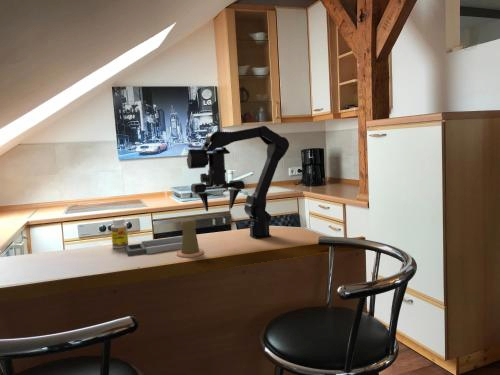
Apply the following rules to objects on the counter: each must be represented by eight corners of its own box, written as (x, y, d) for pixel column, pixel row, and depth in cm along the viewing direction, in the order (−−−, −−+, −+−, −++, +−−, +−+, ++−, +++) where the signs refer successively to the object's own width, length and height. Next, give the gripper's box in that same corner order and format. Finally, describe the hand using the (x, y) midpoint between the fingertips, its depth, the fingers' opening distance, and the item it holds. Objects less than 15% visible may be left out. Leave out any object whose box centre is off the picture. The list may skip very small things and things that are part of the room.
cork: (198, 253, 136) (196, 220, 134) (179, 254, 136) (177, 221, 135) (200, 248, 142) (198, 217, 140) (182, 249, 142) (180, 217, 141)
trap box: (142, 247, 150) (142, 243, 150) (146, 253, 141) (146, 248, 141) (125, 249, 147) (124, 245, 147) (128, 255, 139) (128, 251, 139)
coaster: (199, 248, 145) (199, 246, 144) (207, 254, 136) (207, 252, 136) (173, 252, 141) (173, 250, 141) (180, 258, 133) (180, 257, 133)
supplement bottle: (110, 249, 149) (108, 221, 148) (115, 245, 155) (112, 218, 153) (126, 248, 149) (124, 220, 148) (130, 244, 155) (127, 217, 154)
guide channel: (185, 240, 157) (184, 235, 157) (192, 247, 147) (192, 241, 146) (141, 246, 151) (141, 241, 150) (147, 253, 141) (146, 248, 140)
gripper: (233, 164, 160) (235, 204, 162) (185, 167, 153) (188, 209, 155) (244, 165, 150) (246, 208, 152) (194, 169, 143) (196, 213, 145)
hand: (219, 209), depth 151 cm, fingers open, 9 cm apart
